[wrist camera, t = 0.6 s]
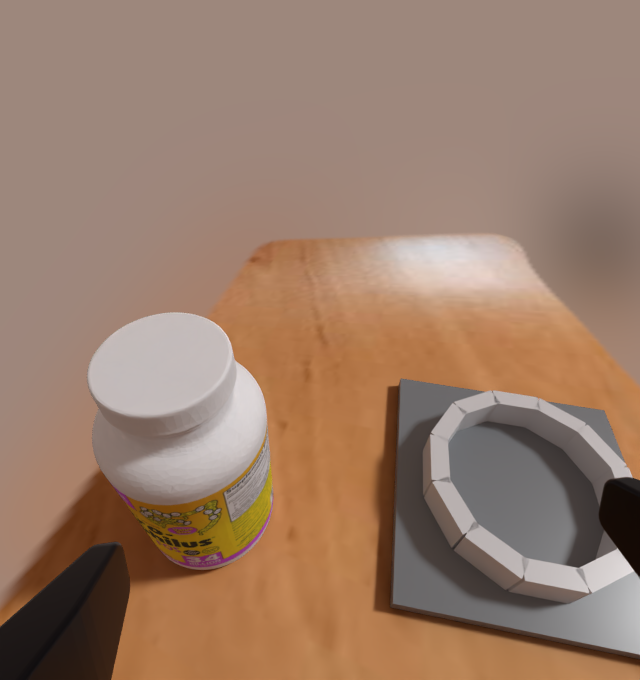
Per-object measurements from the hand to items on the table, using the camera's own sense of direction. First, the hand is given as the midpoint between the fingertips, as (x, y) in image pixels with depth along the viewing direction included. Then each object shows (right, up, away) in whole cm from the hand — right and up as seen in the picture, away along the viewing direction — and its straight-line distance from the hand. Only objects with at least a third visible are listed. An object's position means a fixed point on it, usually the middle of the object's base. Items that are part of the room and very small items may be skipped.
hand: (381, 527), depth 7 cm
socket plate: (+10, -6, +17) cm, 20 cm away
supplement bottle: (-7, -6, +15) cm, 18 cm away
